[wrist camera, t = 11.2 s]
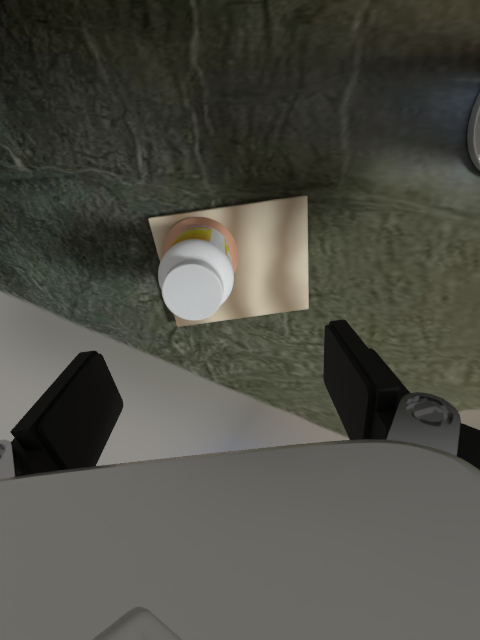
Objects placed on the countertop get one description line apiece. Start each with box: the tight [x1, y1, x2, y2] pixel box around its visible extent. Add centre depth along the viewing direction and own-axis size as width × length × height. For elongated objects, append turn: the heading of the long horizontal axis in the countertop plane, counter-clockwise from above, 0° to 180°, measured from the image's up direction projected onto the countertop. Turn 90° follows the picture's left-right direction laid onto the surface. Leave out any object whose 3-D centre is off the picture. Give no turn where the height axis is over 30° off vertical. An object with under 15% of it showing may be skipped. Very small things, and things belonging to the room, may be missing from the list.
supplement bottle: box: [158, 225, 234, 320], centre depth 26 cm, size 7×7×13 cm
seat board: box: [149, 195, 308, 327], centre depth 34 cm, size 18×14×2 cm
